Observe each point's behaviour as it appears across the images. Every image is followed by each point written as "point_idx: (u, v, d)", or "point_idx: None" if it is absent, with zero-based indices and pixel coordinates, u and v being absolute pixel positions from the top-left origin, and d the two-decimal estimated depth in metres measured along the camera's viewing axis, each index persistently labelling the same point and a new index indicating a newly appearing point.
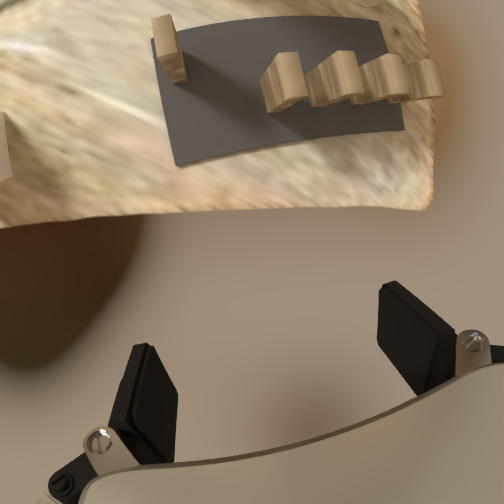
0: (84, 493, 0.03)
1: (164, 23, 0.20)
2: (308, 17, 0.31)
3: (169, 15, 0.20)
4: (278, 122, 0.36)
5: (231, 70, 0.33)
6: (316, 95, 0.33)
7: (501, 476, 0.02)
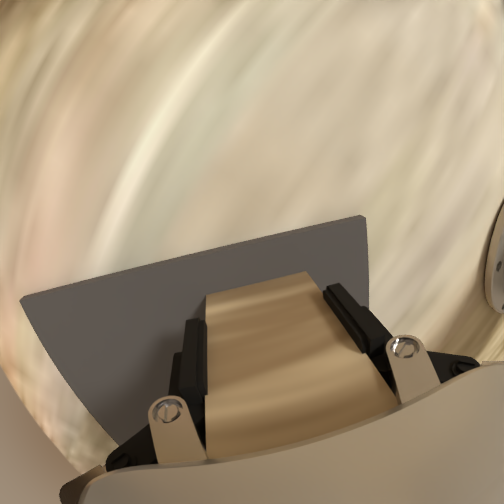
0: (84, 493, 0.03)
1: None
2: None
3: None
4: None
5: None
6: None
7: (501, 476, 0.02)
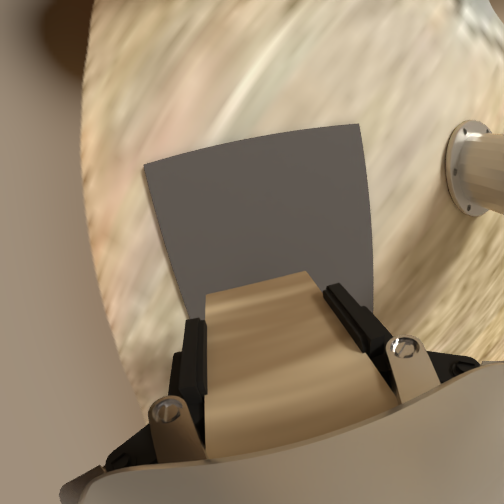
0: (84, 493, 0.03)
1: None
2: None
3: None
4: None
5: (294, 241, 0.27)
6: None
7: (501, 476, 0.02)
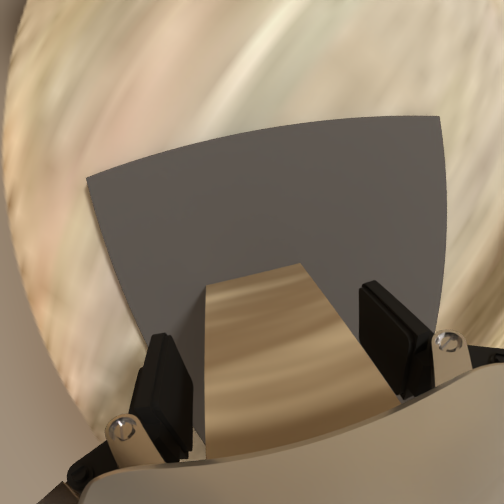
0: (84, 493, 0.03)
1: None
2: None
3: None
4: None
5: (341, 301, 0.16)
6: None
7: (501, 476, 0.02)
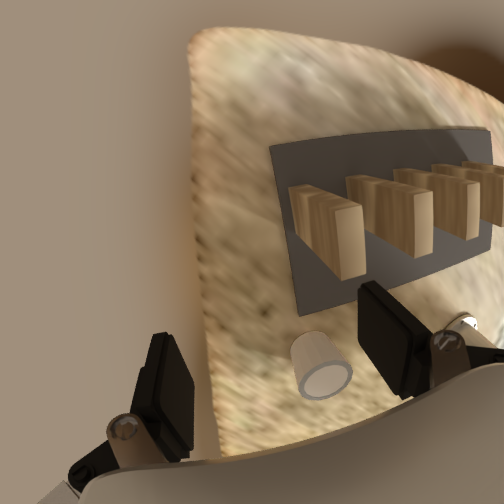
0: (84, 493, 0.03)
1: None
2: (389, 287, 0.35)
3: None
4: (433, 152, 0.29)
5: None
6: None
7: (501, 476, 0.02)
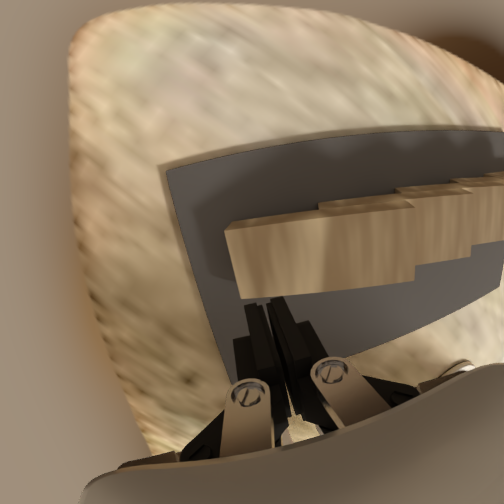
0: (84, 493, 0.03)
1: None
2: (359, 350, 0.26)
3: None
4: (430, 164, 0.20)
5: None
6: None
7: (501, 476, 0.02)
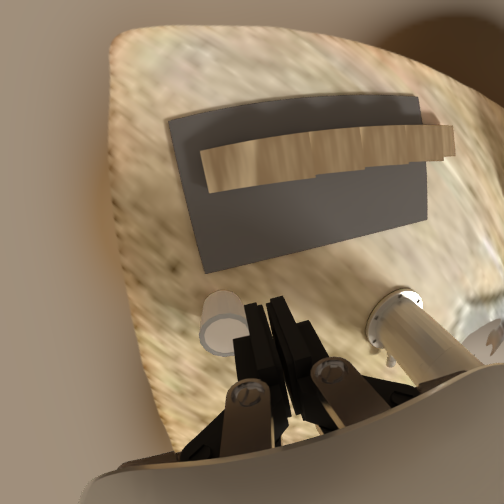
0: (84, 493, 0.03)
1: None
2: (298, 249, 0.38)
3: (454, 154, 0.35)
4: (339, 117, 0.33)
5: (377, 176, 0.36)
6: None
7: (501, 476, 0.02)
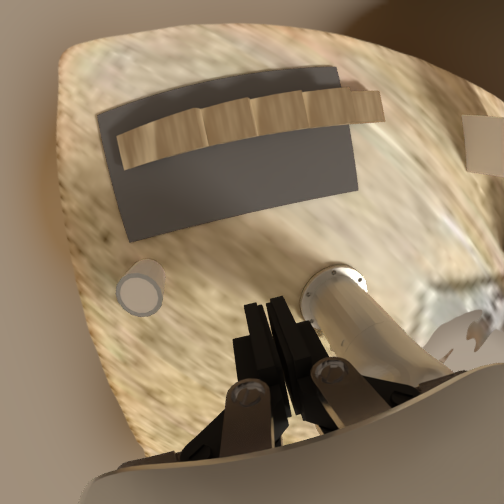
0: (84, 493, 0.03)
1: None
2: (210, 219, 0.41)
3: (384, 120, 0.37)
4: (243, 94, 0.35)
5: (289, 146, 0.39)
6: None
7: (501, 476, 0.02)
